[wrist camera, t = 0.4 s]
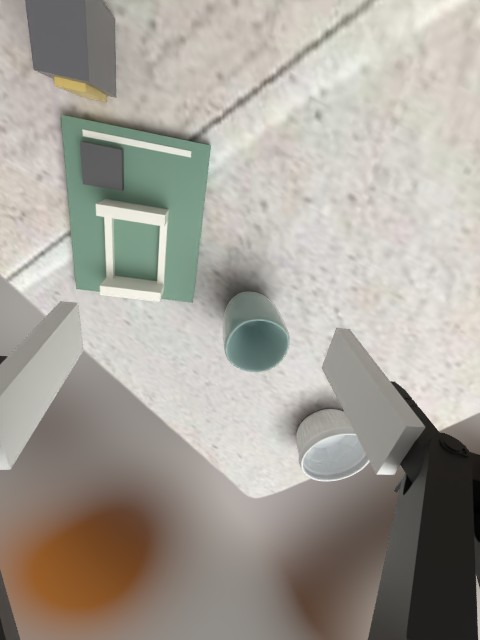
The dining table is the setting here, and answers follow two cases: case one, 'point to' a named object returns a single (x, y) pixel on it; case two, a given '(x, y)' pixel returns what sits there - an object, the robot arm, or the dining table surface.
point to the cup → (254, 333)
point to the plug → (74, 45)
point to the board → (134, 210)
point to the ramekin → (329, 446)
